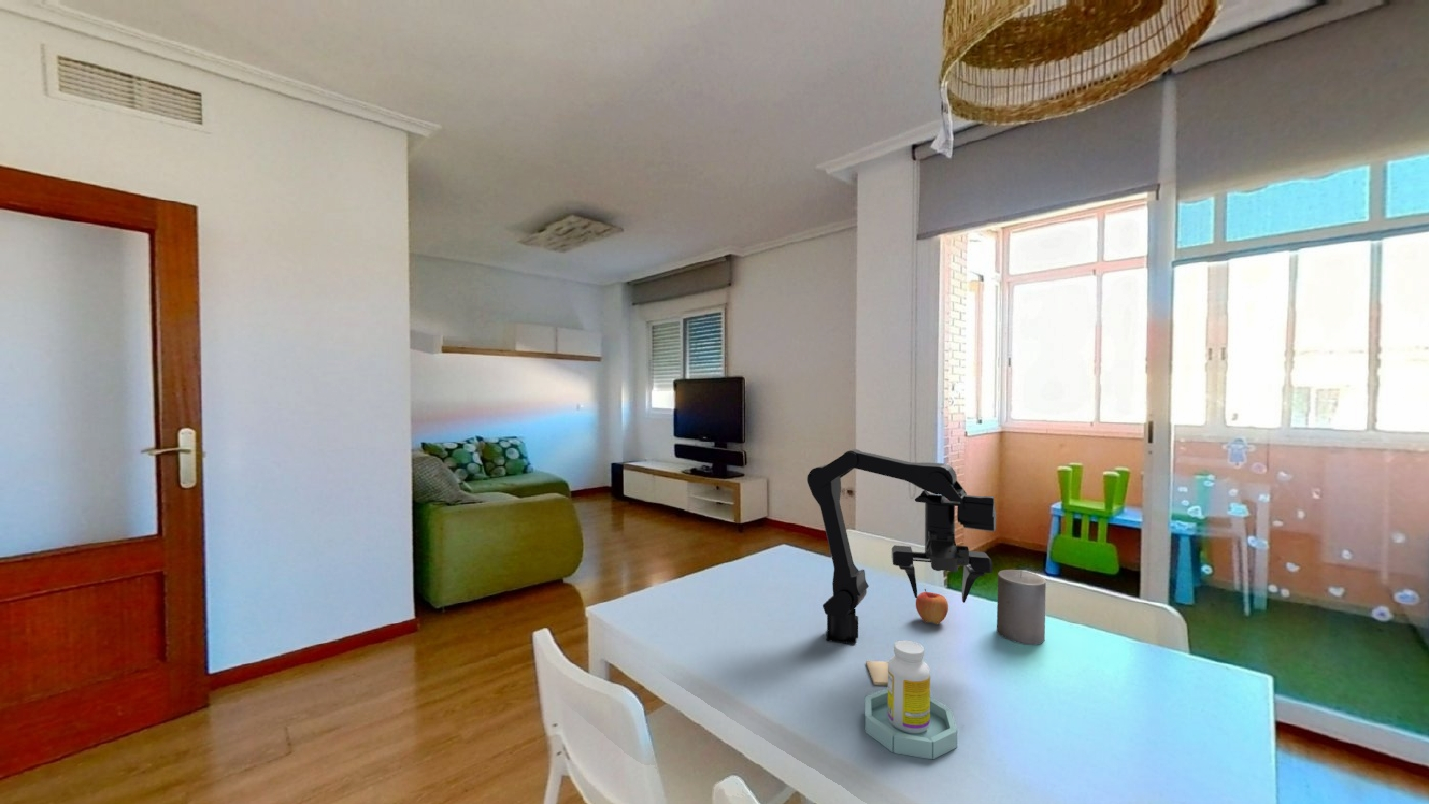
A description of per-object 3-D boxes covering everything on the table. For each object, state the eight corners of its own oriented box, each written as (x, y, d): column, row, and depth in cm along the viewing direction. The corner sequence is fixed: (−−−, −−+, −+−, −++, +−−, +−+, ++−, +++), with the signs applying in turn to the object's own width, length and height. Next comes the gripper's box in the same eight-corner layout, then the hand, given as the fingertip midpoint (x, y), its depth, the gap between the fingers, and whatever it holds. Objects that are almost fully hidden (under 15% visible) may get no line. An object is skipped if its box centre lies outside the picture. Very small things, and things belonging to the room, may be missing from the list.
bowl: (865, 747, 83) (865, 731, 83) (864, 698, 97) (864, 684, 97) (962, 764, 79) (962, 747, 79) (947, 710, 93) (947, 696, 93)
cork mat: (874, 684, 101) (874, 681, 101) (866, 663, 109) (866, 660, 109) (928, 687, 100) (928, 684, 100) (916, 666, 108) (916, 663, 108)
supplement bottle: (937, 725, 87) (938, 648, 87) (914, 741, 84) (915, 660, 83) (902, 706, 93) (903, 633, 93) (878, 719, 89) (879, 644, 89)
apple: (949, 630, 124) (949, 597, 124) (916, 626, 127) (916, 593, 127) (946, 618, 131) (946, 586, 131) (915, 614, 134) (915, 582, 134)
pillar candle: (989, 625, 127) (989, 563, 127) (1030, 625, 127) (1031, 564, 126) (1010, 645, 117) (1011, 578, 117) (1055, 645, 117) (1056, 578, 117)
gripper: (894, 531, 104) (894, 610, 104) (999, 538, 99) (998, 620, 100) (891, 518, 115) (891, 590, 115) (985, 524, 110) (985, 598, 110)
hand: (939, 599), depth 110 cm, fingers open, 9 cm apart
